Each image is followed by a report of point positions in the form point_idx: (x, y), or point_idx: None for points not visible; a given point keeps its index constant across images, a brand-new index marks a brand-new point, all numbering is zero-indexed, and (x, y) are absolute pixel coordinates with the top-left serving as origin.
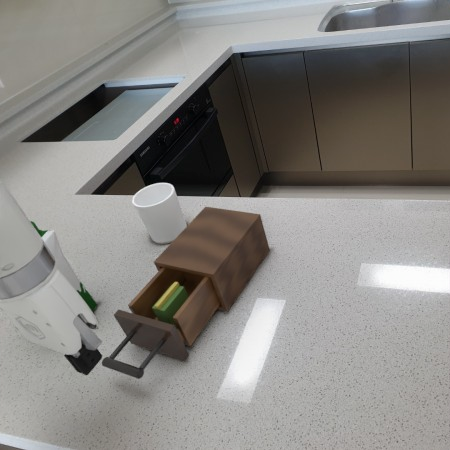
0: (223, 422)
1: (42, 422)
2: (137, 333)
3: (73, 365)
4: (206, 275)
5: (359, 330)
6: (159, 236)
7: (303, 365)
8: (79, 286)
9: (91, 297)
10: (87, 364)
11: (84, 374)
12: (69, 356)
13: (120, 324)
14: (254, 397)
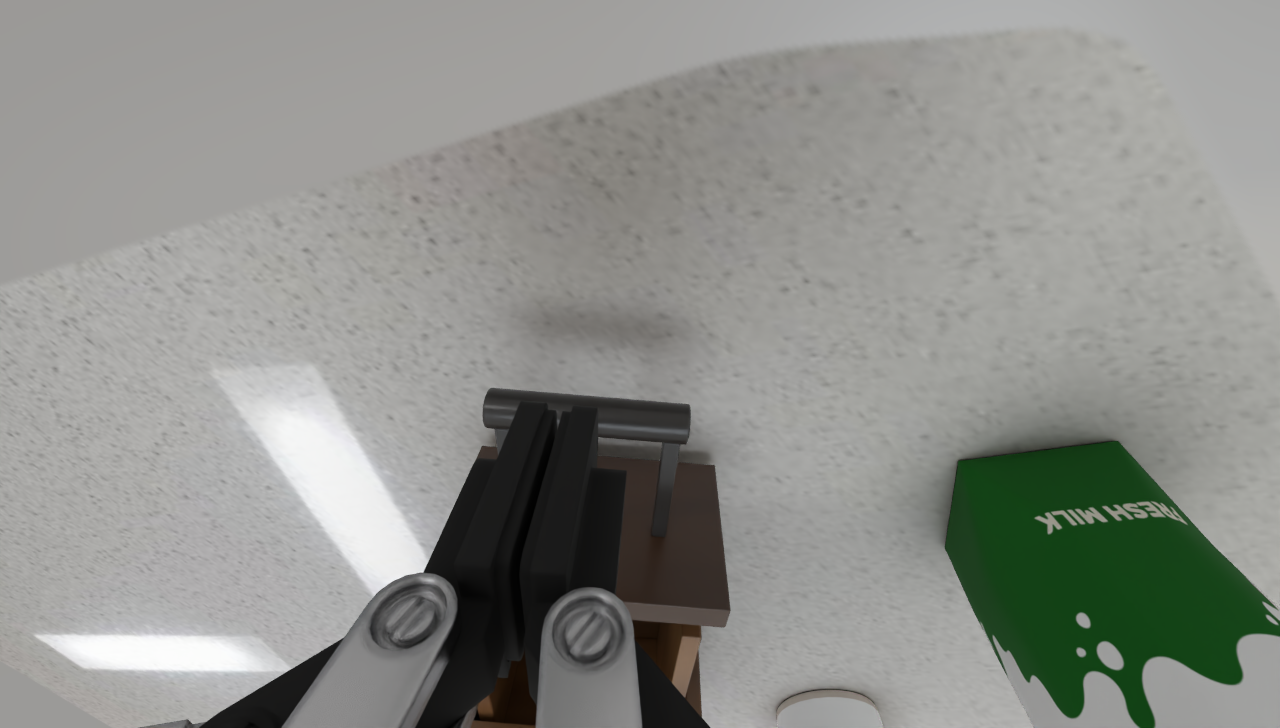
0: (220, 301)
1: (925, 116)
2: (642, 526)
3: (564, 465)
4: (477, 726)
5: (153, 561)
6: (832, 722)
7: (183, 479)
8: (1003, 661)
9: (962, 585)
10: (473, 483)
11: (529, 403)
12: (523, 564)
13: (716, 556)
14: (212, 385)
